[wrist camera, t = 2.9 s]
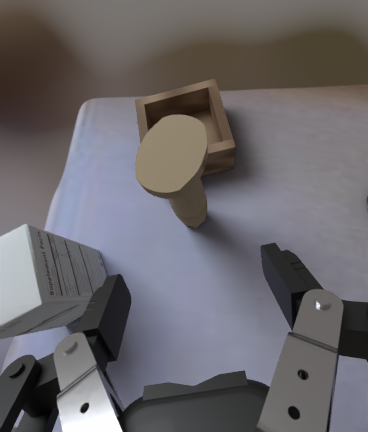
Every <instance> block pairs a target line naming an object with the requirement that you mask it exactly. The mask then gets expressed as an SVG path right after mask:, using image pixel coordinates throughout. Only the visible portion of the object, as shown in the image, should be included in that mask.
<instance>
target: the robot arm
mask: <svg viewBox="0 0 368 432" xmlns="http://www.w3.org/2000/svg"><path fill="white" fill-rule="evenodd" d="M260 248H261V258H262V267H263V272H264V275H265V278H266V280H267V282H268V284H269V286H270V288H271V290H272V292H273V294H274V296H275V298H276V300H277V302H278V304H279V306H280V308H281V310H282V312H283V314H284V316H285V318H286V320H287V322H288V324H289V326H290V328H291V330H292V333H291V332H289V333H288V335H287V337H286V340H285V343H284V346H283V349H282V352H281V355H280V358H279V361H278V364H277V367H276V370H275V373H274V376H273V379H272V383H271V386H270V387H269V386H267V385H265V384H263V383H261V382H258V381H254V380H249V379H247V378H246V374H245V371H238V372H232V373H226V374H219V375H217V376H215V377H213V378H211V379H209V380H206V381H204V382H202V383H200V384H198V385H195V386H188V385H181V384H175V383H162V384H156V385H149V386H144V392H143V396H142V397H140V398H139V399H137V400H135V401H134V402H133V403H131V404H130V405H129V406H128V407H127V408H126V409H125V408H124V406H123V404H122V402H121V400H120V398H119V396H118V393H117V391H116V389H115V387H114V385H113V382H112V380H111V378H110V376H109V374H108V371H107V370H106V367H107V363H108V362H111V361H117V357H118V353H119V349H120V345H121V341H122V338H123V334H124V330H125V326H126V322H127V318H128V314H129V310H130V306H131V295H130V292H129V290H128V288H127V286H126V283H125V281H124V279H123V277H122V275H121V274H117V275H112V276H107V277H106V279H105V281H104V283H103V285H102V287H99V288H98V289H97V290H96V291H95V292H94V293H93V295H92V297H91V299H90V301H89V304H88V305H87V307H86V310H85V311H84V313H83V315H82V318H81V320H80V322H79V324H78V326H77V328H76V330H75V332H74V334H71V335H69V336H68V337H66V338H65V339H64V340H63V341H62V342H61V343H60V344H59V345H58V346H57V348H56V349H55V352H54V353H52V354H50V355H48V356H46V357H44V358H42V359H39V360H36V359H35V357H34V356H33V355H25V356H22V357H20V358H18V359H17V360H15V361H14V362H13V363H11V364H10V365H9V366H8V367H7V368H6V369H5V370H4V372H3V373H2V375H1V376H0V432H11V430H12V428H13V426H14V424H15V422H16V420H17V418H18V416H19V414H20V412H21V410H22V409H23V410H24V411H25V412H24V415H23V417H22V419H21V421H20V423H19V425H18V427H17V429H16V431H15V432H52V430H53V428H54V425H55V422H56V419H57V416H58V414H60V419H61V425H62V430H63V432H329V431H330V423H331V415H332V406H333V397H334V390H335V382H336V374H337V367H338V359H339V355H342V356H348V357H354V358H361V359H366V360H367V362H368V303H367V302H353V301H345V300H341V299H340V298H339V297H338V296H337V295H335V294H334V293H332V292H330V291H327V290H324V289H323V288H322V287H321V285H320V284H319V283H318V282H317V280H316V279H315V278H314V277H313V275H312V274H311V273H310V272H309V270H308V269H307V268H306V267H305V265H304V264H303V263H302V262H301V260H300V259H299V258H298V257H297V255H295V254H294V253H292V252H290V251H288V250H285V251H281V250H280V249H279V247H278V246H277V245H276V243H271V244H266V245H261V247H260Z"/></svg>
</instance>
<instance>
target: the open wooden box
mask: <svg viewBox="0 0 368 432" xmlns="http://www.w3.org/2000/svg"><path fill="white" fill-rule="evenodd" d="M135 104H136V112H137V119H138V127H139V135H140V143H142V141H143V139H144V137H145V135H146V134H147V132H148V131H149V130H150V129H151V128H152V127H153V126H154V125H155V124H156V123H158V122H159V121H160V120H161V119H162V118H163V117H166V116H170V115H187V116H191V117H194V118H196V119H198V120H200V121H201V122H202V123H203V124H204V126H205V131H206V137H207V146H208V157H207V162H206V165H205V169H204V172H203V174H202V176H205V175H209V174H213V173H217V172H222V171H226V170H230V169H234V161H235V150H236V146H235V143H234V139H233V136H232V133H231V130H230V126H229V123H228V120H227V116H226V113H225V110H224V107H223V103H222V100H221V97H220V94H219V90H218V87H217V84H216V81H215V79H211V80H207V81H204V82H200V83H196V84H193V85H189V86H186V87H182V88H178V89H174V90H171V91H167V92H163V93H160V94H156V95H152V96H149V97H145V98H141V99H138V100H135Z"/></svg>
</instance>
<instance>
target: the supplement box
mask: <svg viewBox="0 0 368 432" xmlns="http://www.w3.org/2000/svg"><path fill="white" fill-rule="evenodd" d="M106 277H107V274H106V271H105V268H104V265H103V262H102V259H101V256H100V253H99V251H98V250H97V249H94V248H91V247H88V246H86V245H83V244H80V243H78V242H75V241H72V240H69V239H66V238H64V237H61V236H58V235H55V234H53V233H50V232H47V231H44V230H42V229H39V228H36V227H33V226H31V225H29V224H24V225H22V226H20V227H18V228H16V229H14V230H13V231H11V232H9V233H7V234H5V235H3V236H1V237H0V339H4V338H9V337H14V336H19V335H24V334H29V333H34V332H38V331H43V330H48V329H53V328H58V327H62V326H66V325H67V324H69V323H71V322H72V321H74V320H76V319H78V318H80V317H81V316H82V315H83V313H84V311H85V310H86V307H87V305H88V304H89V301H90V299H91V297H92V295H93V293H94V292H95V291H96V290H97V289H98V288H99V287H102V285H103V283H104V281H105V279H106Z"/></svg>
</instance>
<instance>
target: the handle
mask: <svg viewBox="0 0 368 432" xmlns="http://www.w3.org/2000/svg"><path fill="white" fill-rule="evenodd" d="M207 157H208V146H207V137H206V131H205V126H204V124H203V123H202V122H201V121H200V120H198V119H196V118H194V117H191V116H187V115H170V116H166V117H163V118H162V119H161V120H160V121H159V122H158V123H156V124H155V125H154V126H153V127H152V128H151V129H150V130H149V131H148V132H147V134H146V135H145V137H144V139H143V141H142V143H141V145H140V147H139V149H138V152H137V155H136V162H135V165H136V179H137V181H138V182H139V183H140V185H141V186H142V187H143V188H144V189H145V190H146V191H147V192H148V193H150V194H152V195H154V196H157V197H160V198H165V199H169V202H170V204H171V207H172V209H173V211H174V212H175V214H176V216H177V217H178V218H179V219H180V220H181V221H182V222H183V223H184V224H185V225H186V226H192V227H193V228H198V226H199V225H200V224H201V223H203V222H205V221H206V217H207V215H206V214H207V199H206V194H205V191H204V188H203V185H202V182H201V178H200V177H201V176H202V174H203V172H204V169H205V165H206V162H207Z"/></svg>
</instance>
